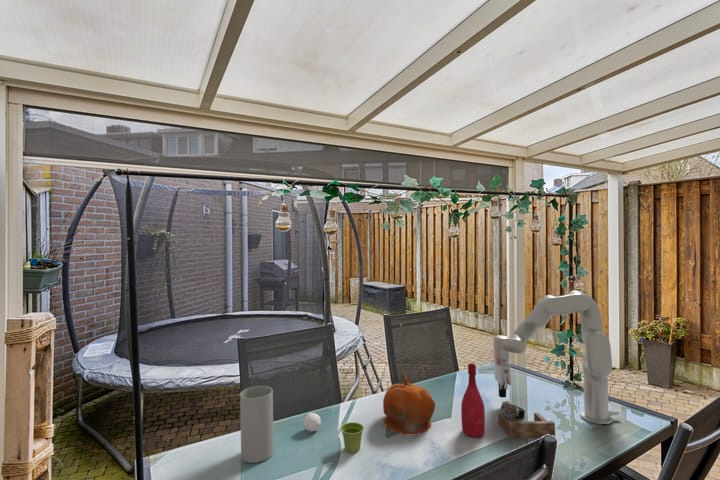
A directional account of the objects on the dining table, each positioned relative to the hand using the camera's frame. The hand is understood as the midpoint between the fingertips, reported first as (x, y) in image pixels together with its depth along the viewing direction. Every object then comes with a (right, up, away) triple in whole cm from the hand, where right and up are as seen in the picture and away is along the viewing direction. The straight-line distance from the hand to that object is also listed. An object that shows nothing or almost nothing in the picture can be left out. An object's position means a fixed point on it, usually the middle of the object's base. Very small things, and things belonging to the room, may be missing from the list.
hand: (502, 396), depth 187 cm
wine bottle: (-23, -5, -26) cm, 35 cm away
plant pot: (-75, -6, -37) cm, 84 cm away
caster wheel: (+1, -5, -10) cm, 11 cm away
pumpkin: (-50, -6, -15) cm, 53 cm away
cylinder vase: (-113, -6, -40) cm, 120 cm away
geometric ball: (-94, -6, -22) cm, 96 cm away
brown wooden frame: (+1, -4, -24) cm, 24 cm away
